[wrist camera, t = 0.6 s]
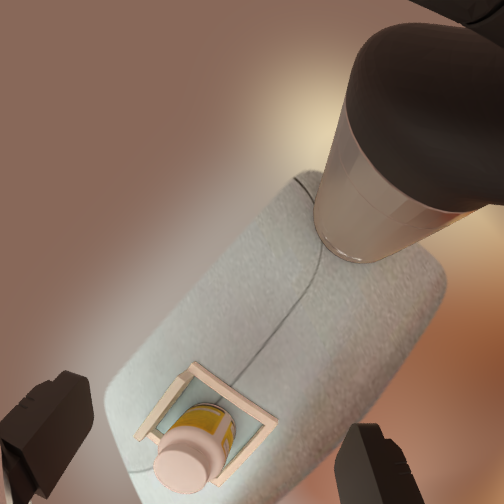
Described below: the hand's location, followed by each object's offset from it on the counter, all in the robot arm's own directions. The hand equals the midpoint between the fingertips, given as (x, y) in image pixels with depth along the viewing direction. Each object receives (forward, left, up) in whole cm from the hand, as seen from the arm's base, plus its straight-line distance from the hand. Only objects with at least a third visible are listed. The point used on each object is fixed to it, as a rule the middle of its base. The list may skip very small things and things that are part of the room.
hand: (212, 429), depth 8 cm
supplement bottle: (+10, +1, -21) cm, 23 cm away
